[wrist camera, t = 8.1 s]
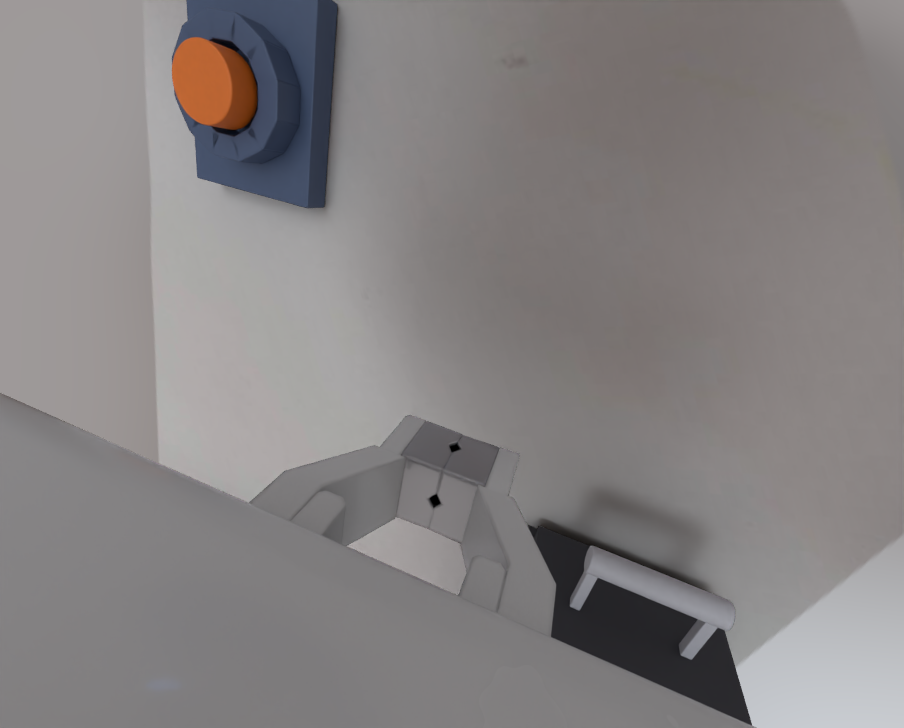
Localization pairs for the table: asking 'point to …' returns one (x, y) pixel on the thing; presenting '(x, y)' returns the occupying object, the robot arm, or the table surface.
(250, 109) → the button
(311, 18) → the control block
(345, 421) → the table surface
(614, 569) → the drawer
